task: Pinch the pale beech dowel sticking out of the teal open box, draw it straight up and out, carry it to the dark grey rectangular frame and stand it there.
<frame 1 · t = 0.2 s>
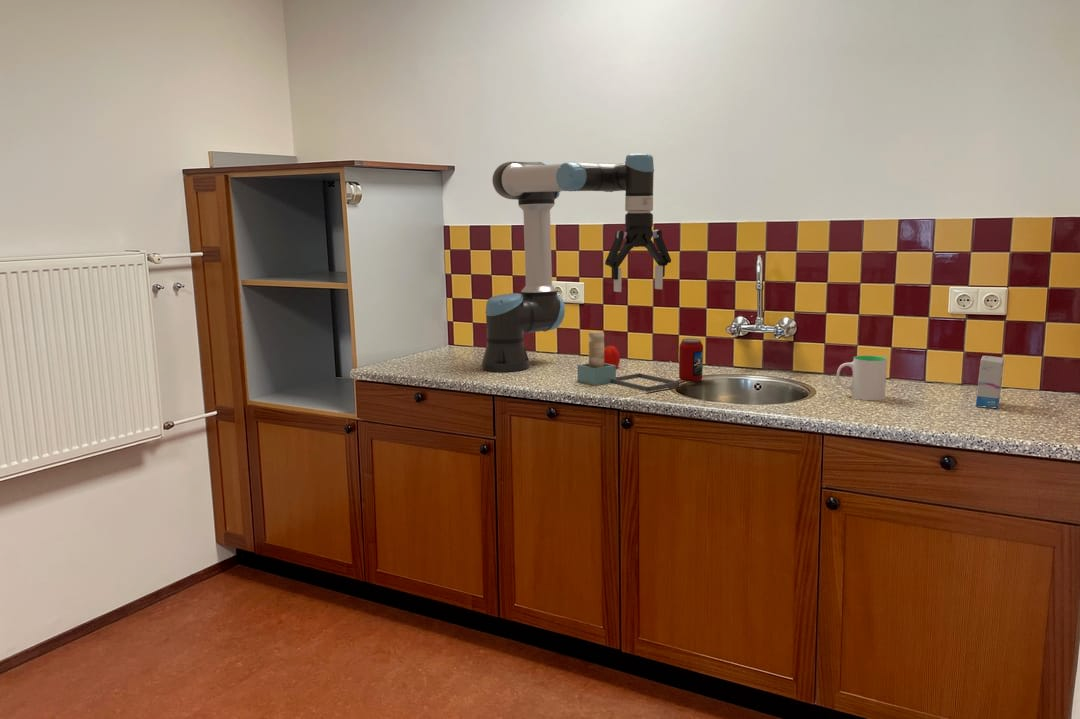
hand: (638, 290, 223), 27 cm above the worktop, fingers open, 13 cm apart
mug: (859, 397, 211), on the worktop
dark grey rectangular frame: (643, 386, 228), on the worktop
beverage can: (690, 381, 235), on the worktop
teal open box: (596, 383, 232), on the worktop
dowel: (596, 381, 232), point 1 cm above the worktop, touching teal open box
tomato: (604, 370, 253), on the worktop
ink box: (987, 405, 200), on the worktop
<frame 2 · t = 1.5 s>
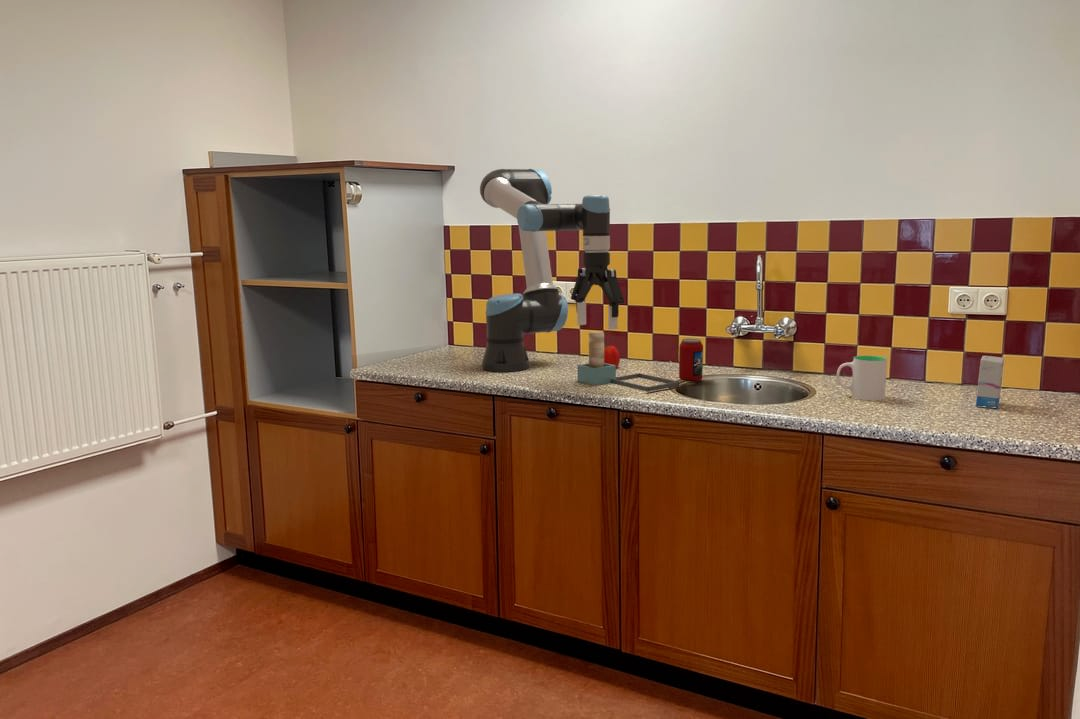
hand: (597, 327, 228), 17 cm above the worktop, fingers open, 13 cm apart
nothing on the worktop moved.
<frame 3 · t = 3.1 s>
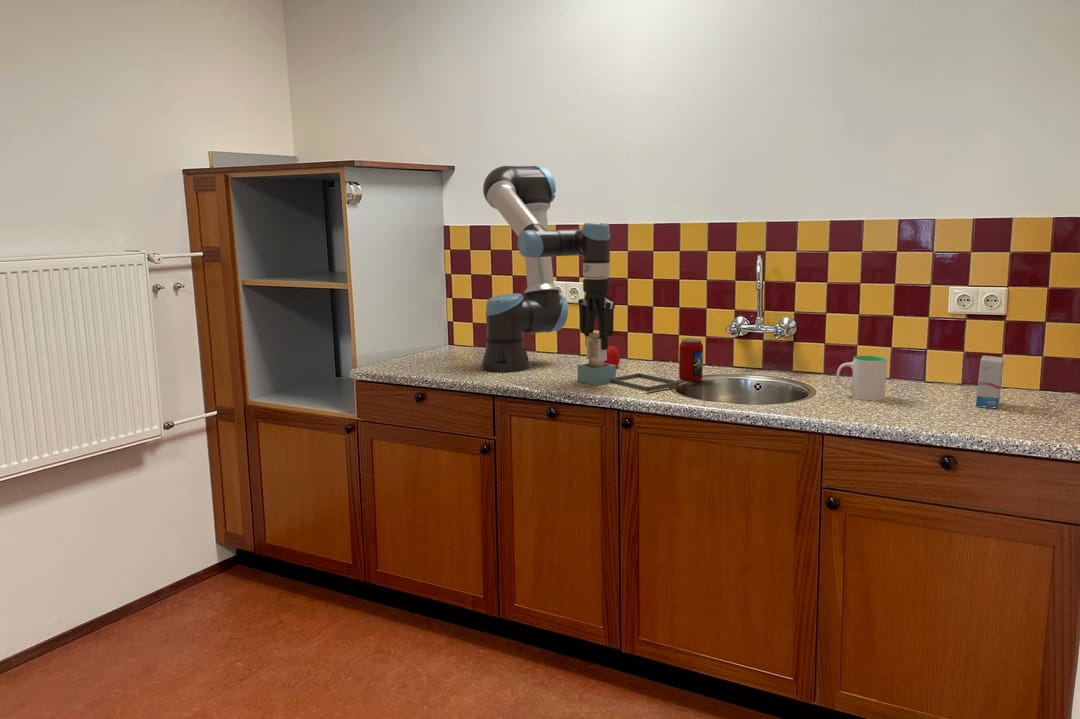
hand: (596, 359, 230), 7 cm above the worktop, fingers closed on dowel, 4 cm apart
dowel: (596, 381, 232), point 1 cm above the worktop, touching teal open box, gripper
everything else where it was.
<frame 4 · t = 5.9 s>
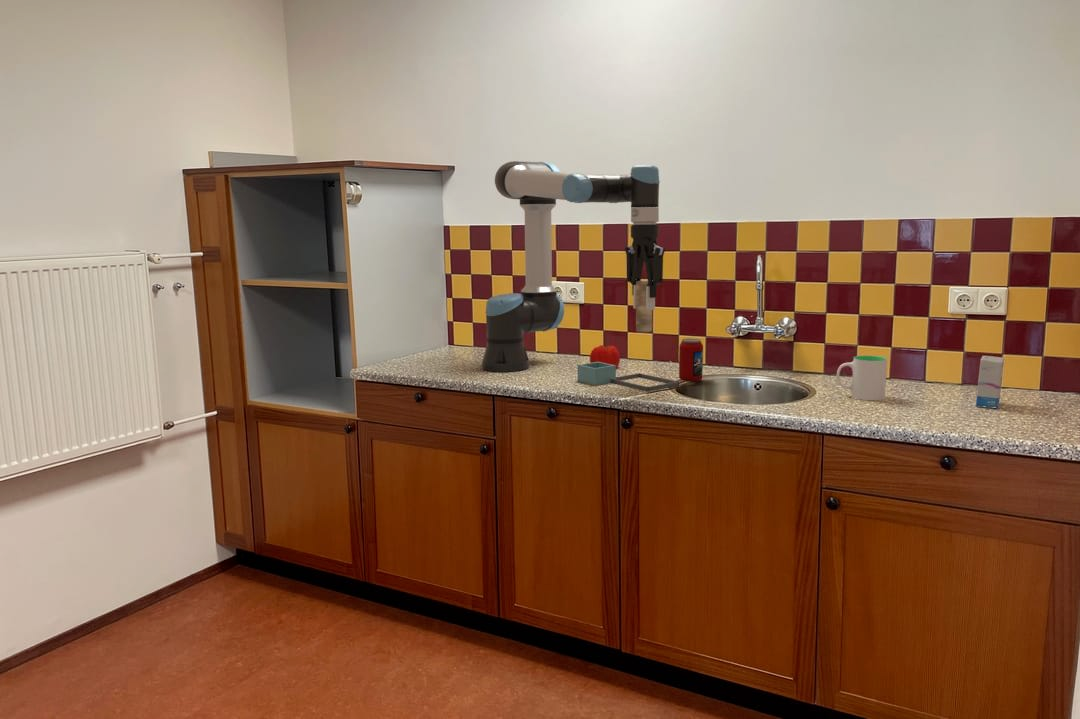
hand: (644, 308, 224), 22 cm above the worktop, fingers closed on dowel, 4 cm apart
dowel: (643, 331, 225), point 16 cm above the worktop, touching gripper
everything else where it was.
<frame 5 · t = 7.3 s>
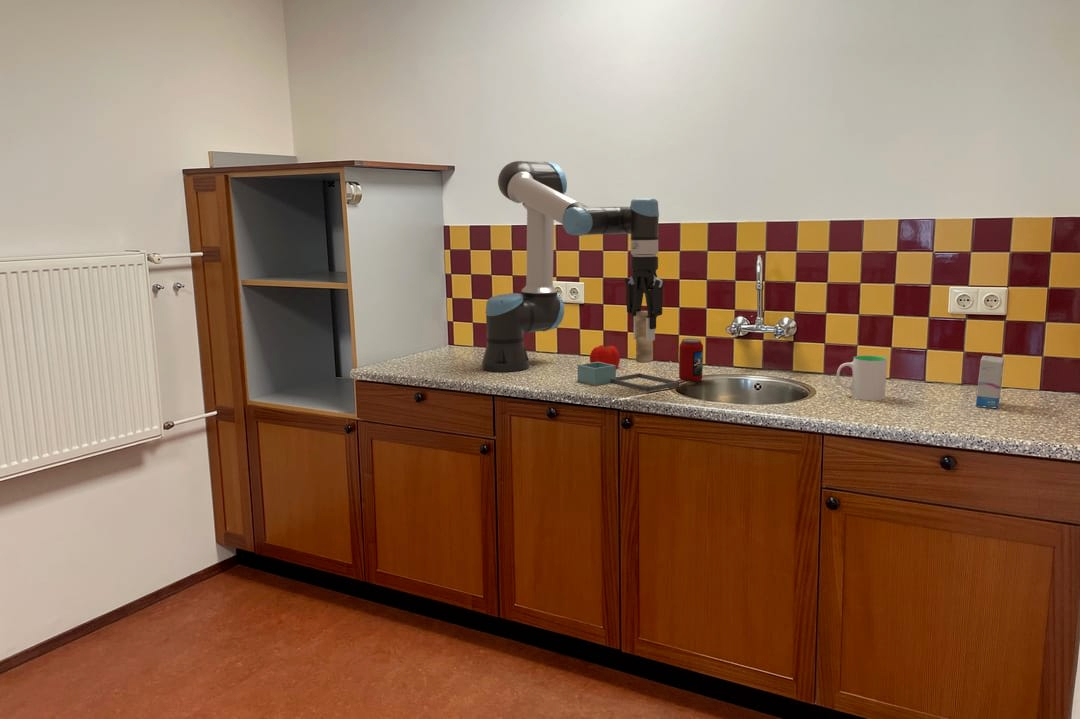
hand: (644, 339, 225), 13 cm above the worktop, fingers closed on dowel, 4 cm apart
dowel: (644, 361, 226), point 7 cm above the worktop, touching gripper
everything else where it was.
when the fingers open (8 cm above the worktop, at t = 8.7 s): dowel drops 2 cm, resting on dark grey rectangular frame.
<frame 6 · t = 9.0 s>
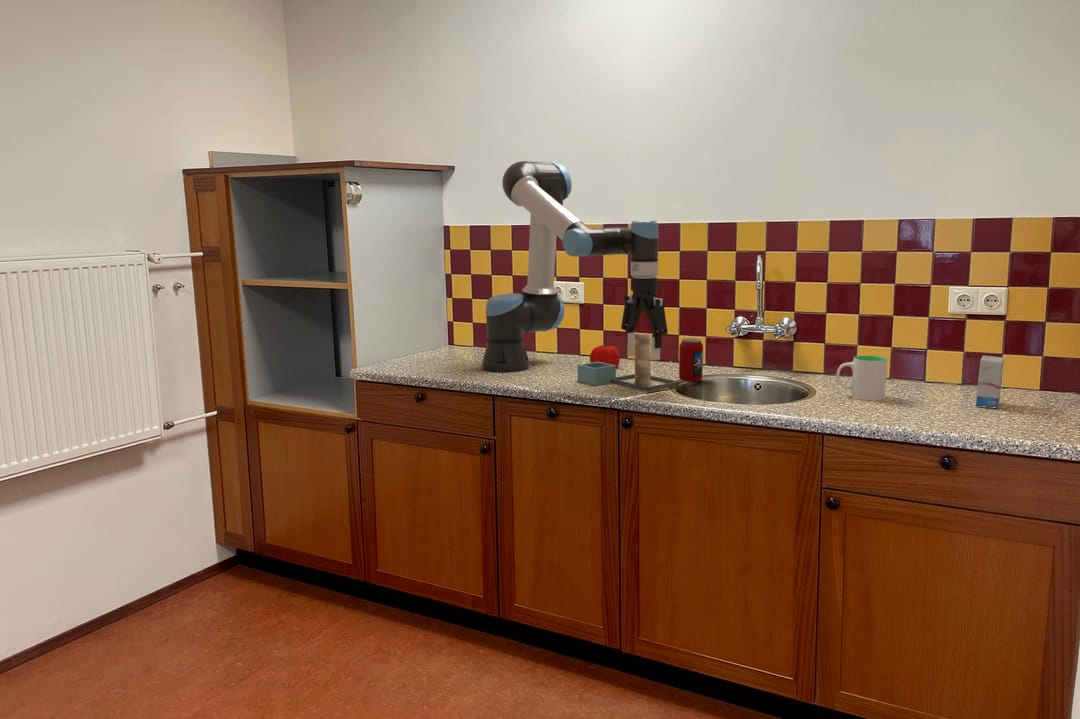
hand: (643, 357, 226), 8 cm above the worktop, fingers open, 9 cm apart
dowel: (642, 383, 228), point 1 cm above the worktop, touching dark grey rectangular frame
everything else where it was.
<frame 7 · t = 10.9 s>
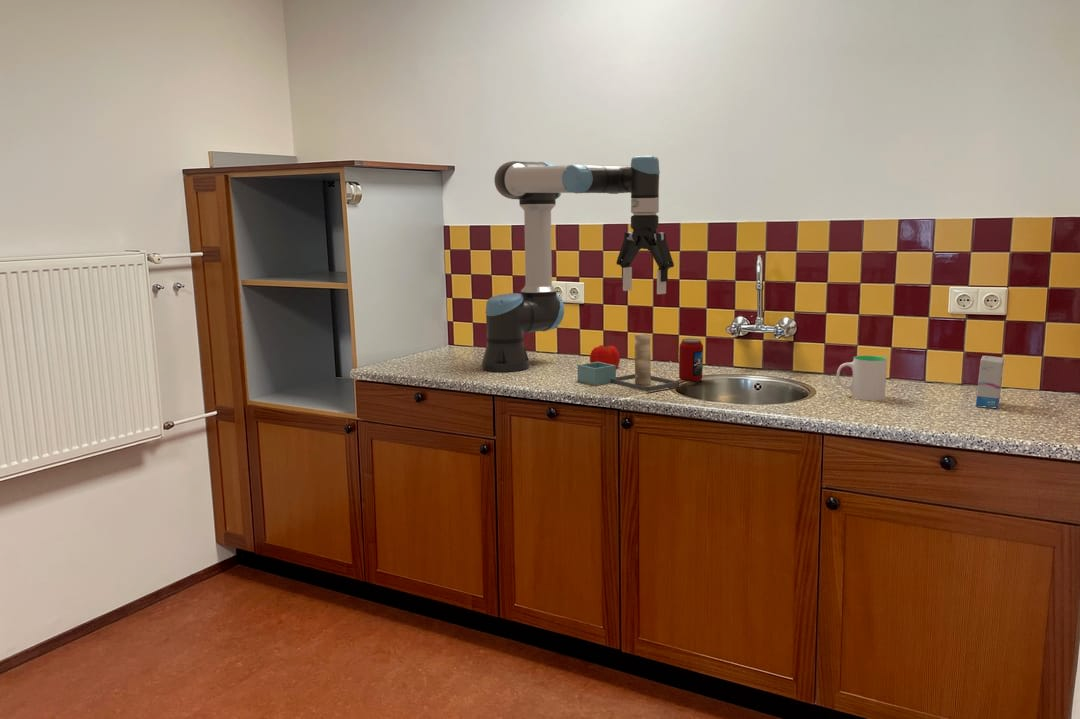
hand: (643, 292, 223), 27 cm above the worktop, fingers open, 13 cm apart
nothing on the worktop moved.
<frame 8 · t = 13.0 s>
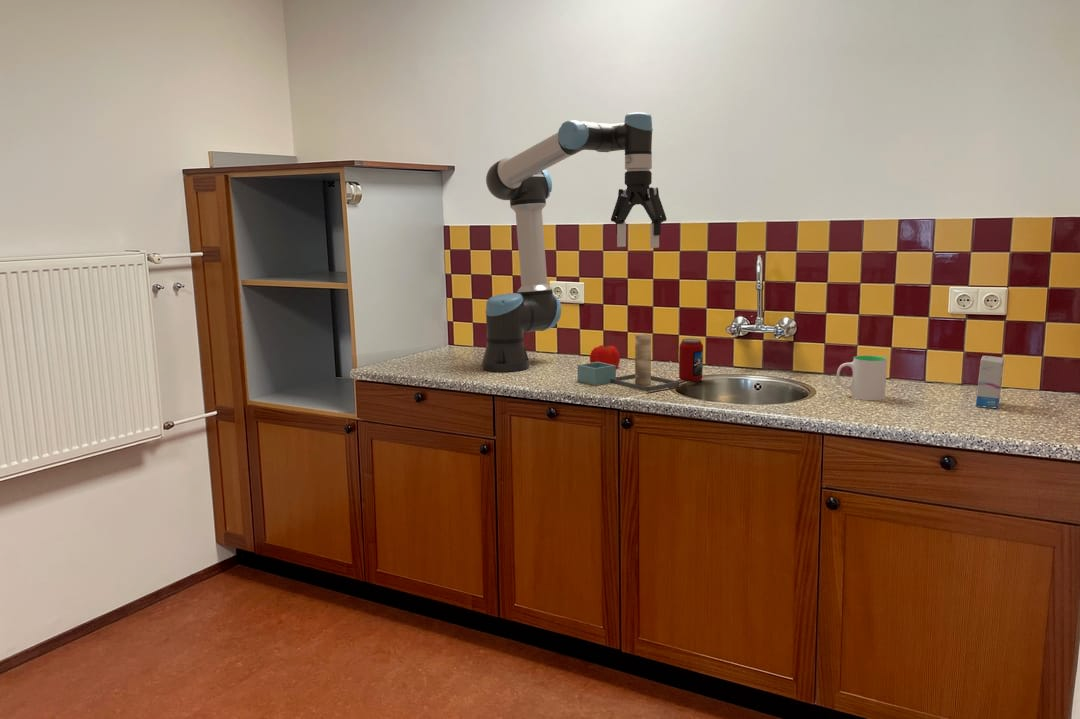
hand: (637, 247, 229), 39 cm above the worktop, fingers open, 13 cm apart
nothing on the worktop moved.
at the end: dowel inside the target area on the dark grey rectangular frame (0.2 cm from its centre), point 0.7 cm above the dark grey rectangular frame's base; dowel tilted 1°; the gripper is holding nothing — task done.
